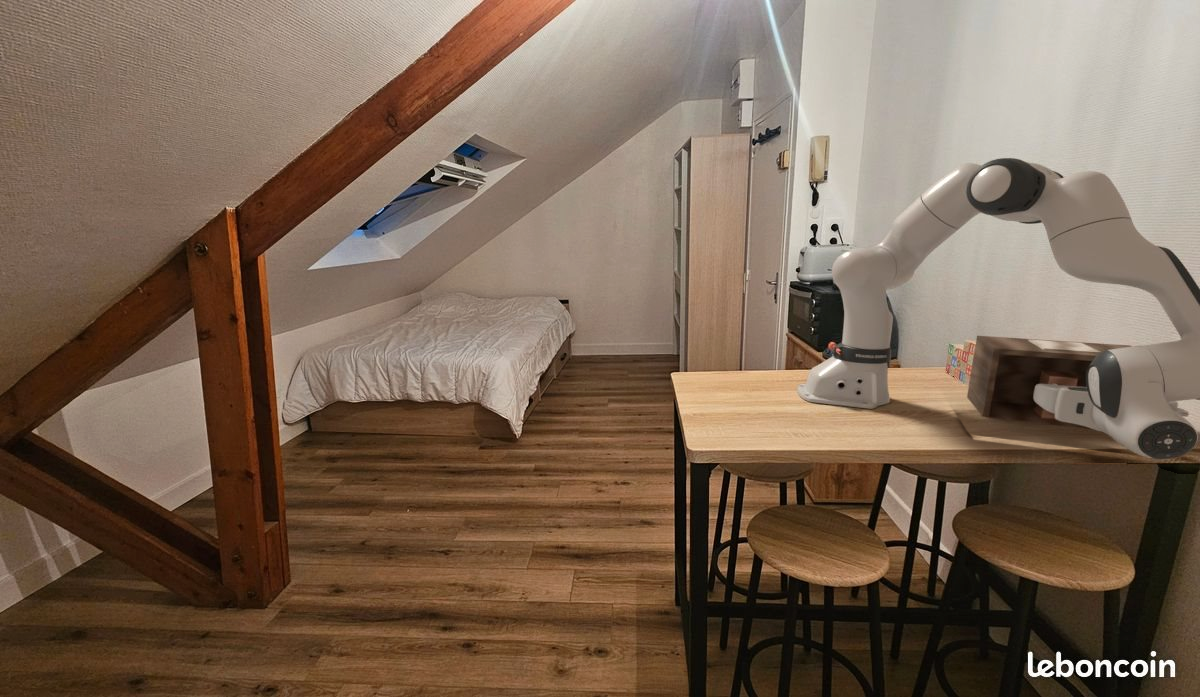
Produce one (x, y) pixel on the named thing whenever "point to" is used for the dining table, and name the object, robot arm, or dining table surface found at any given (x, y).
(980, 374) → the cubby
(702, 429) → the dining table surface
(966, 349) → the stack of blocks
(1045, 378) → the terracotta block
